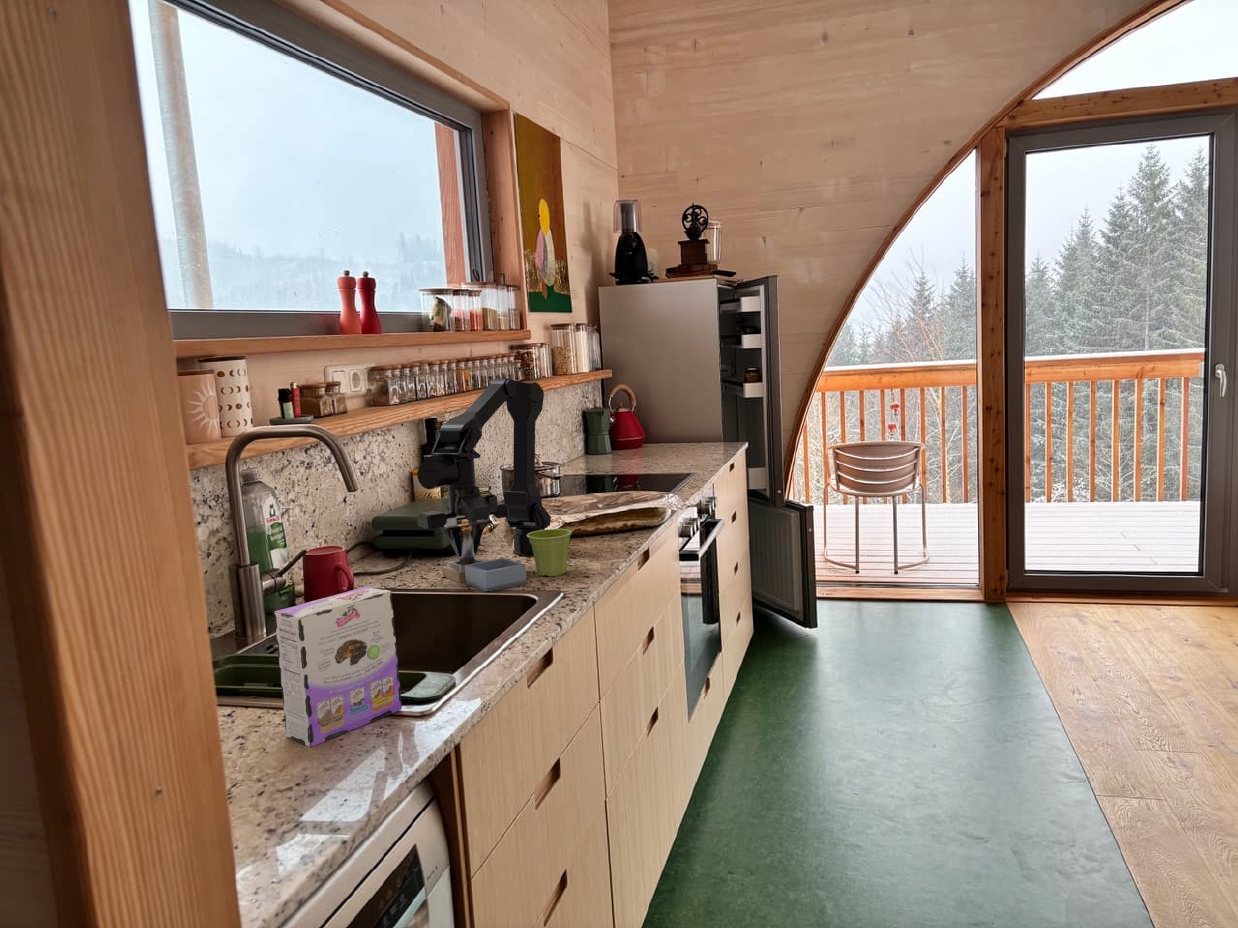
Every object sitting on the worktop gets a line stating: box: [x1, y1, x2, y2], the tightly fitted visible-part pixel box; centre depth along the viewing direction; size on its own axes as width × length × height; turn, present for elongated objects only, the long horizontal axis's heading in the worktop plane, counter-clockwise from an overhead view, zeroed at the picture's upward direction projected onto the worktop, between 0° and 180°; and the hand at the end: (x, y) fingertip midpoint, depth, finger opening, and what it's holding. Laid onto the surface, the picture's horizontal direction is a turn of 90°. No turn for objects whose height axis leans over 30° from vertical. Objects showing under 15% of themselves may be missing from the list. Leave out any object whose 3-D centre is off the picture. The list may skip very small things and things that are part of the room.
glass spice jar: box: [457, 522, 476, 566], centre depth 194 cm, size 4×4×9 cm
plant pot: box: [527, 528, 573, 577], centre depth 193 cm, size 9×9×9 cm
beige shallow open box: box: [441, 557, 484, 583], centre depth 195 cm, size 8×8×3 cm
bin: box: [465, 557, 527, 592], centre depth 187 cm, size 9×9×4 cm
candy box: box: [274, 585, 403, 748], centre depth 117 cm, size 14×6×16 cm, turn 140°
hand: (466, 555), depth 195 cm, fingers closed on glass spice jar, 3 cm apart
